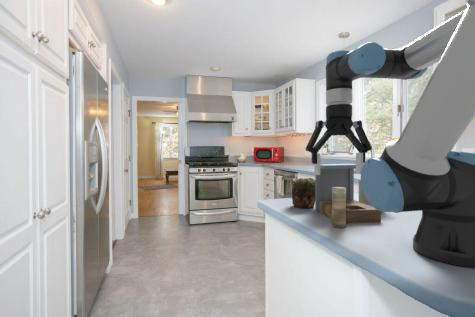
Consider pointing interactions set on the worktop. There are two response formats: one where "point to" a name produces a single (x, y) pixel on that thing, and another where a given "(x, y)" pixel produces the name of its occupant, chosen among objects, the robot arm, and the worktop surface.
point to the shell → (303, 193)
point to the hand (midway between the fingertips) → (338, 174)
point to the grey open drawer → (334, 181)
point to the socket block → (353, 211)
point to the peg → (338, 207)
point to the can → (362, 194)
